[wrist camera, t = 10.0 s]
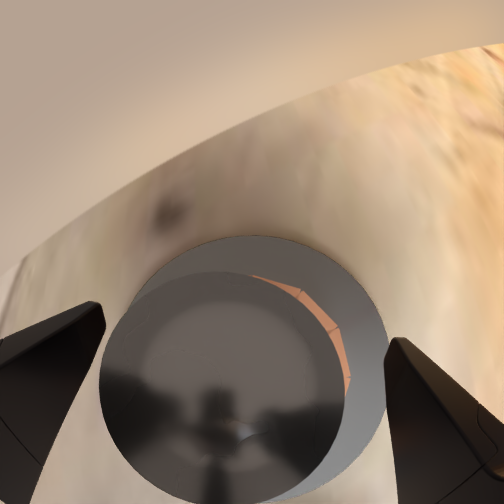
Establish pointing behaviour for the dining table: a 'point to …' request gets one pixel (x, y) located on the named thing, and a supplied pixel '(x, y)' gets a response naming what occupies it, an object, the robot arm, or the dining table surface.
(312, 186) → the dining table surface
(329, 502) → the dining table surface
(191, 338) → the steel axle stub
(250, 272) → the slate seat plate
